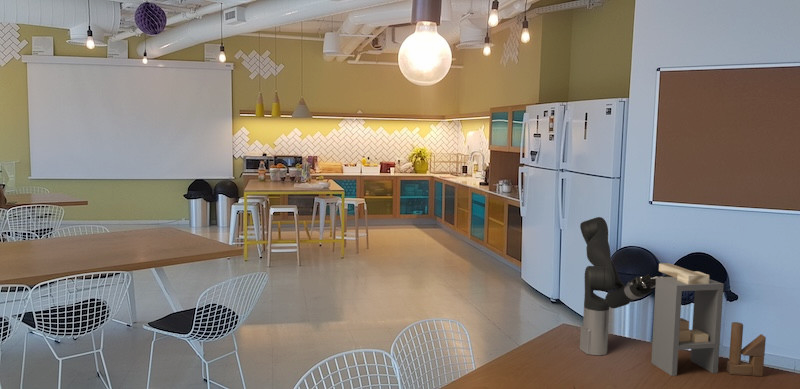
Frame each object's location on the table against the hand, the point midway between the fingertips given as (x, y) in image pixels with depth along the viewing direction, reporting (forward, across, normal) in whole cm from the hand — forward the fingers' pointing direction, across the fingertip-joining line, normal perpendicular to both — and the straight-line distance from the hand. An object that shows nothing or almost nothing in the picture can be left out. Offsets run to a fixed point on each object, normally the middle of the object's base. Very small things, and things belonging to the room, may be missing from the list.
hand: (659, 276), depth 229 cm
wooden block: (+7, +18, +38) cm, 43 cm away
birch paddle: (+12, 0, +4) cm, 13 cm away
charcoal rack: (0, 0, +34) cm, 34 cm away
